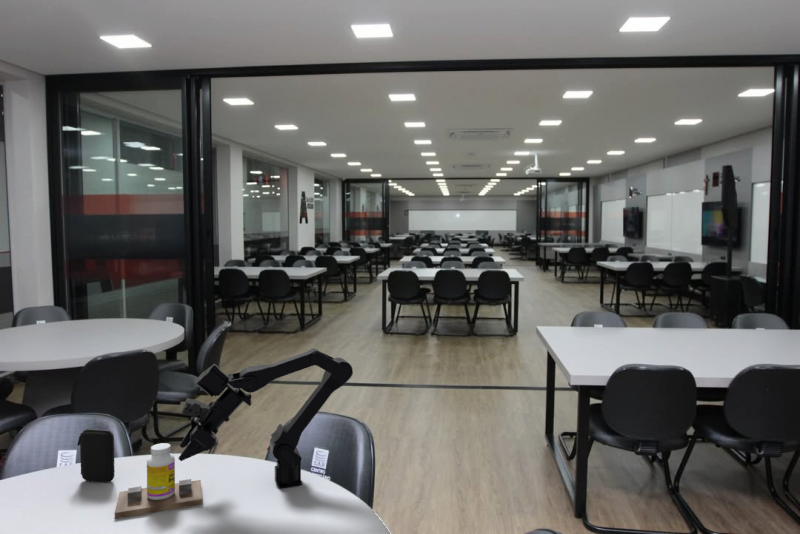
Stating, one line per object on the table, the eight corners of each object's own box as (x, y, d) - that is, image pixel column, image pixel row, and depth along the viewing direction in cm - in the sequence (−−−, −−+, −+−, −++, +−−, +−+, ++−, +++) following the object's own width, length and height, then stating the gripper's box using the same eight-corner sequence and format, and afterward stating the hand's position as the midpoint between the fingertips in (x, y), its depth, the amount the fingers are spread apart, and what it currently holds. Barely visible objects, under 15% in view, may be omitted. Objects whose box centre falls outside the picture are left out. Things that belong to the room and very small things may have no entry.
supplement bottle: (171, 500, 138) (171, 450, 138) (143, 502, 137) (143, 452, 136) (177, 488, 145) (177, 441, 144) (151, 490, 144) (150, 442, 143)
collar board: (200, 485, 150) (200, 471, 150) (202, 504, 139) (202, 489, 139) (119, 497, 143) (119, 482, 142) (114, 519, 132) (114, 502, 131)
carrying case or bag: (74, 482, 151) (73, 430, 151) (82, 477, 154) (81, 426, 154) (110, 485, 150) (109, 432, 149) (117, 480, 153) (116, 428, 152)
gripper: (200, 379, 152) (158, 423, 149) (200, 397, 134) (153, 447, 131) (230, 404, 155) (190, 447, 152) (234, 425, 137) (188, 474, 134)
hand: (180, 453), depth 142 cm, fingers open, 9 cm apart
